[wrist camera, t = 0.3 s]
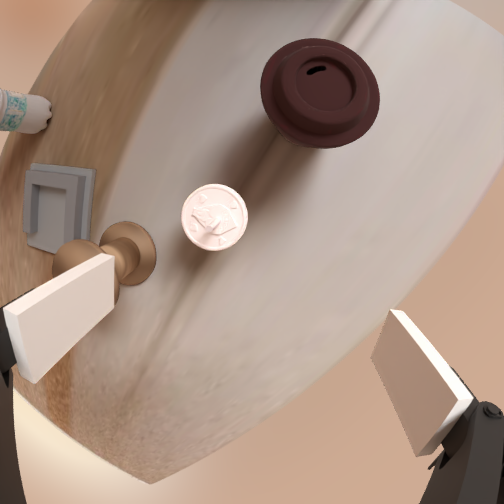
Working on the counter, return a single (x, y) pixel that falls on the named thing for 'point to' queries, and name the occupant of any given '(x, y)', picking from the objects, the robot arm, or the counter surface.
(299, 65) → the coffee cup
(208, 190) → the smoothie
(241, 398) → the counter surface
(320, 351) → the counter surface
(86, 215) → the notch board
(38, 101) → the bottle
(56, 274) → the bobbin
